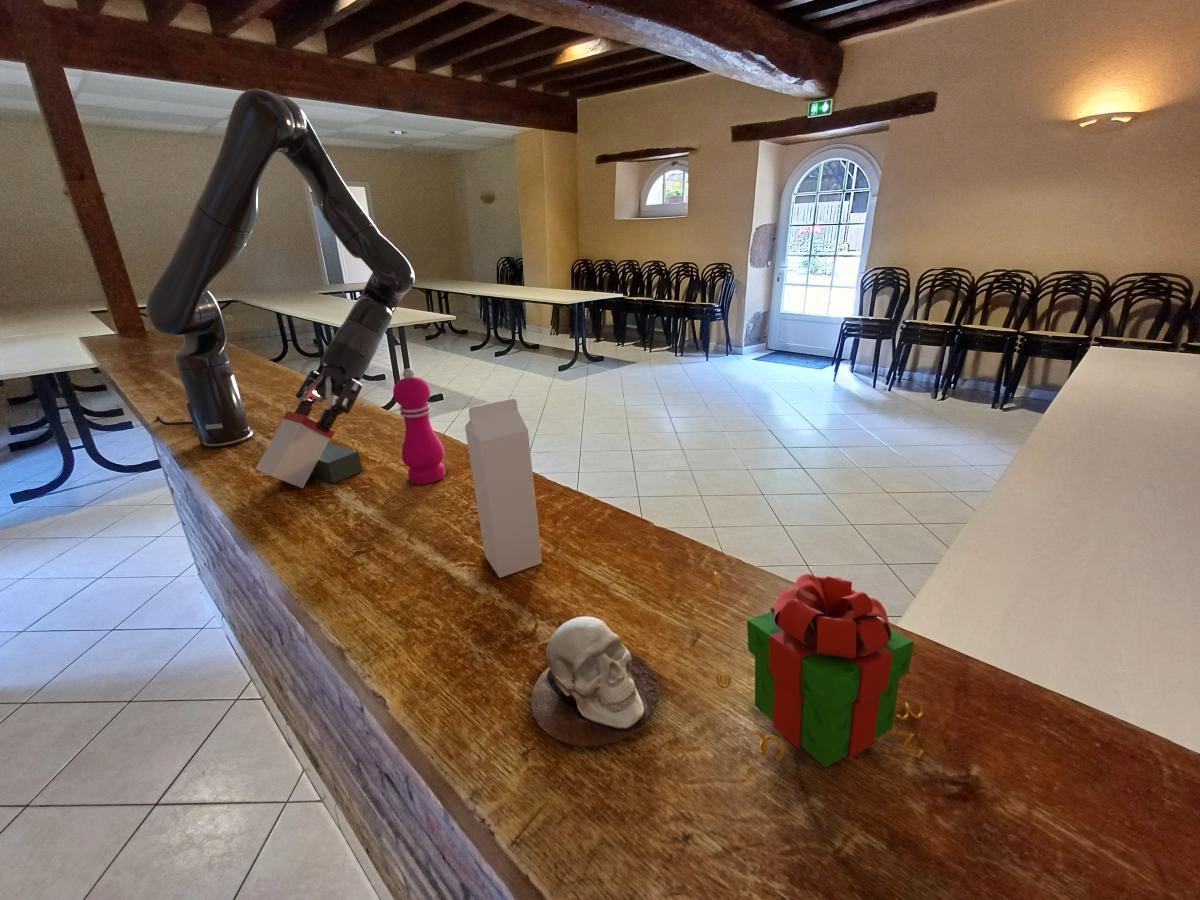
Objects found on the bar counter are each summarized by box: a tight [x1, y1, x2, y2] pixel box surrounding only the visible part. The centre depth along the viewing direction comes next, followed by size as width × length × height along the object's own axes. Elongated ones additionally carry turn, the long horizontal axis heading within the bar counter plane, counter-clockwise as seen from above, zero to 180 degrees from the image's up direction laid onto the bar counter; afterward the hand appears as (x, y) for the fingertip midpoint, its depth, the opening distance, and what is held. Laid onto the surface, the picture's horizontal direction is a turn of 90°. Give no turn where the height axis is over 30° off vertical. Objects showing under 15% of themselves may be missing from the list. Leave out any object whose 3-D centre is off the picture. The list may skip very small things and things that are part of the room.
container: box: [255, 410, 336, 489], centre depth 98 cm, size 12×6×12 cm, turn 145°
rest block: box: [310, 441, 364, 484], centre depth 104 cm, size 6×12×4 cm, turn 55°
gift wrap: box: [709, 570, 925, 768], centre depth 45 cm, size 20×19×14 cm
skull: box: [530, 615, 660, 747], centre depth 51 cm, size 12×10×10 cm
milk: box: [464, 398, 543, 578], centre depth 69 cm, size 6×6×22 cm
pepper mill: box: [392, 368, 446, 485], centre depth 96 cm, size 7×7×20 cm
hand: (308, 426), depth 99 cm, fingers open, 8 cm apart
